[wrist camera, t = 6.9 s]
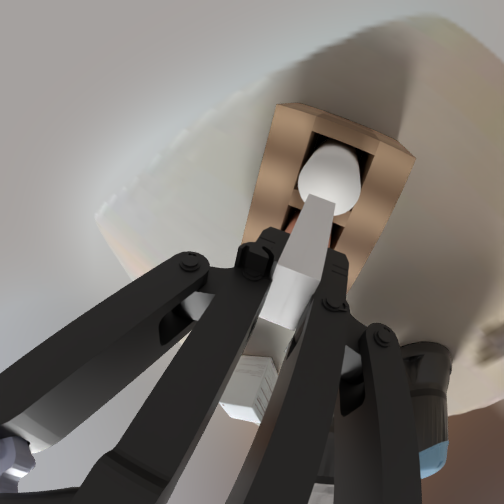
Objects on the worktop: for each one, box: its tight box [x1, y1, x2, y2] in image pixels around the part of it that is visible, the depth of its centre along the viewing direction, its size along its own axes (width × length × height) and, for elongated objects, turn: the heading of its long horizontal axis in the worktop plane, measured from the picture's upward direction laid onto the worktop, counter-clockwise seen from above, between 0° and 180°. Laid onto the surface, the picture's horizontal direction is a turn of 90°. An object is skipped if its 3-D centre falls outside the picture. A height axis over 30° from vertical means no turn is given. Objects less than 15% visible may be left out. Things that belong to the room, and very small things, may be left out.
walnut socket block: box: [241, 103, 416, 294], centre depth 29 cm, size 22×12×10 cm, turn 167°
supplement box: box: [219, 355, 278, 423], centre depth 51 cm, size 7×7×13 cm
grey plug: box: [298, 138, 361, 216], centre depth 21 cm, size 4×4×9 cm
